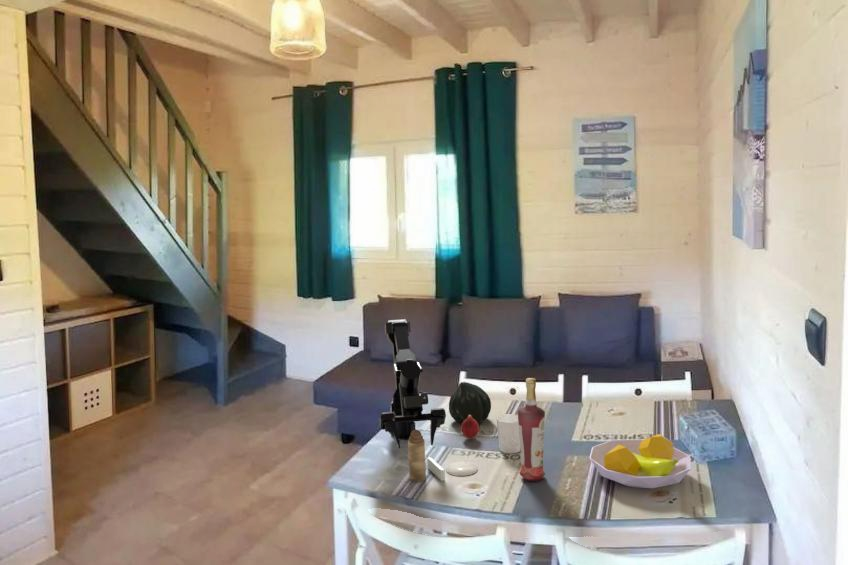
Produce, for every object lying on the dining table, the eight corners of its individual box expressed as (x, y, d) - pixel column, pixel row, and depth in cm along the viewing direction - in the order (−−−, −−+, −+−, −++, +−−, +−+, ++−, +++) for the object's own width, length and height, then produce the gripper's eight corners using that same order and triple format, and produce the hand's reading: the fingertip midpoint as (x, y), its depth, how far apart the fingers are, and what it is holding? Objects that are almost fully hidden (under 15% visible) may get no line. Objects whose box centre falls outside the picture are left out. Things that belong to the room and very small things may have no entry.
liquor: (539, 485, 175) (538, 384, 171) (514, 480, 179) (512, 381, 175) (549, 475, 181) (548, 377, 177) (525, 470, 185) (523, 374, 181)
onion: (478, 442, 207) (477, 418, 206) (460, 442, 208) (459, 418, 207) (480, 436, 213) (479, 412, 212) (462, 435, 214) (462, 412, 213)
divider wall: (427, 467, 189) (427, 457, 189) (431, 467, 190) (430, 457, 189) (441, 480, 180) (441, 470, 180) (444, 480, 180) (444, 469, 180)
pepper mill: (406, 479, 181) (404, 431, 180) (415, 473, 185) (413, 426, 184) (420, 483, 179) (418, 433, 177) (428, 476, 183) (427, 428, 181)
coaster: (440, 472, 186) (440, 470, 186) (455, 461, 193) (455, 459, 193) (468, 478, 181) (468, 477, 181) (482, 466, 188) (482, 465, 188)
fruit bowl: (579, 459, 191) (579, 422, 190) (673, 457, 190) (673, 420, 189) (602, 504, 163) (602, 460, 162) (712, 502, 162) (713, 458, 161)
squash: (505, 404, 227) (478, 370, 231) (485, 418, 215) (457, 382, 219) (479, 425, 235) (453, 391, 238) (459, 440, 222) (432, 404, 226)
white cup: (525, 445, 203) (524, 415, 202) (520, 455, 196) (520, 423, 194) (500, 443, 206) (499, 413, 204) (494, 453, 198) (494, 421, 197)
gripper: (378, 385, 184) (383, 436, 175) (443, 380, 187) (451, 430, 177) (378, 404, 193) (382, 453, 183) (440, 399, 195) (447, 448, 186)
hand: (415, 446), depth 182 cm, fingers open, 9 cm apart
